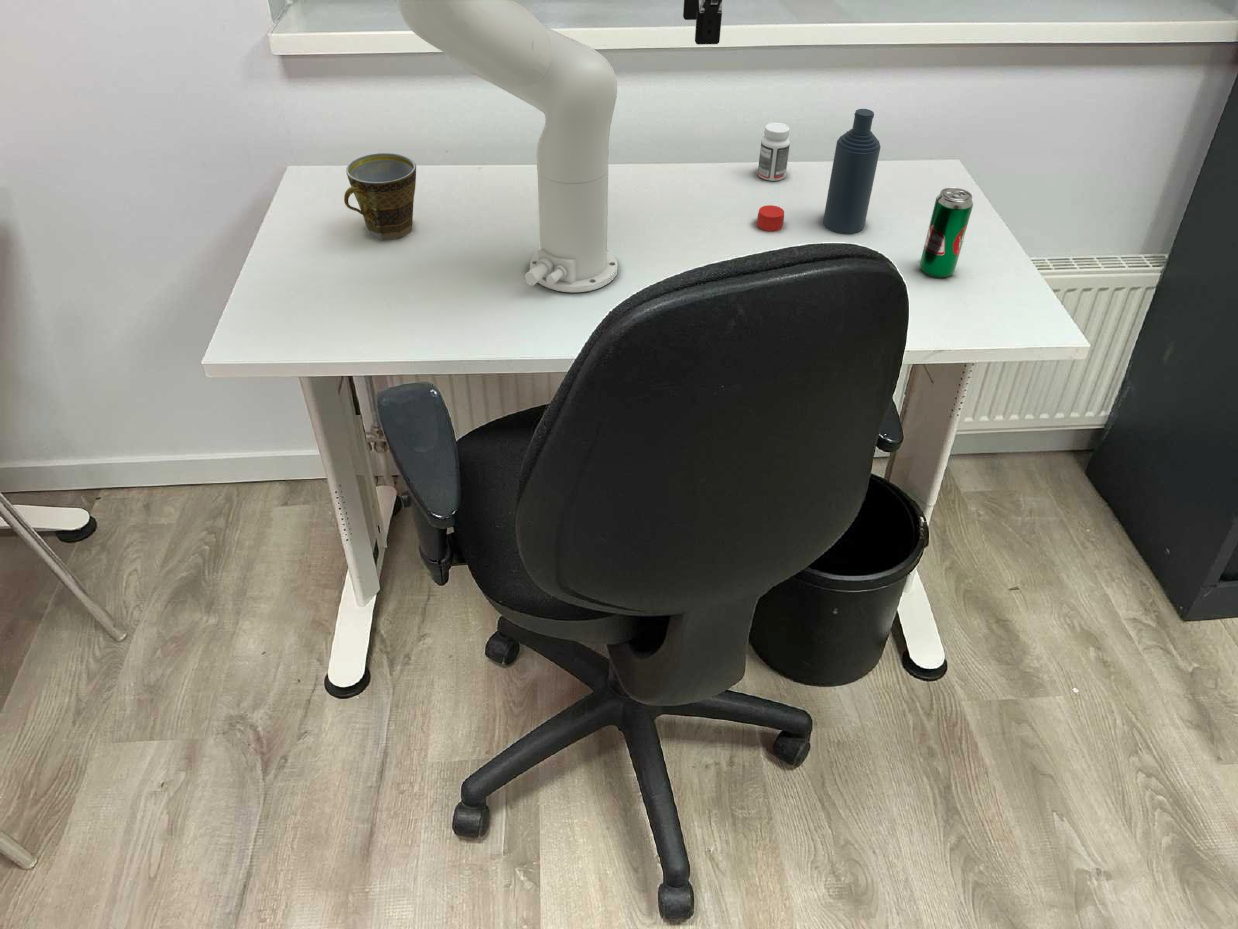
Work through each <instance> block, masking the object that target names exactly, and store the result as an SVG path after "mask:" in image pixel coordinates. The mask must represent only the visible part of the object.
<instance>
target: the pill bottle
mask: <svg viewBox="0 0 1238 929" xmlns="http://www.w3.org/2000/svg"><path fill="white" fill-rule="evenodd" d="M789 136H790V126H789V125H787V124H785V123H783V122H769V123H767V124H765V126H764V131H763V136H762V138H761V141H760V149H759V158H758V168H757V175H758V177H759V178H761V179H763V180H765V181H771V182H776V181H781V180H783V179H784V178H785V177H786V175H787V168H788V161H789V155H790V154H789V153H790V146H791V140H790V138H789Z"/></svg>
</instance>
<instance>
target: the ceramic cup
mask: <svg viewBox="0 0 1238 929" xmlns="http://www.w3.org/2000/svg"><path fill="white" fill-rule="evenodd" d="M345 173H346V176H347V180H348V182H349V184H350V187H348V188H347V189H346V190H345V192H344V196H343V201H344V205H345V206H346V207H347V208H348V209H349V210H352V211H354V212H357V213H359V214H360V215H362V217H363V220H364V224H365V227H366V229H367V234H368V235H369V237H371V238H375V239H377V240H380V241H390V240H398V239H402V238H403V237H405V236H407V235H408V234H410V233H411V232H412V230H413V220H414V219H413V217H414V203H415V202H414V201H415V193H416V183H417V164H416V162H415V161H414V159H412V158H410V157H409V156H406V155H403V154H399V153H393V152H380V153H379V152H378V153H371V154H366V155H363V156H360V157H357V158H356V159H354V160H352V161H351V162H349V163H348V165H347V167H346V169H345ZM352 194H353V195H354V198H355V200H356V202H357V204H358V207H359V208H357V207H354V206H352V205H350V203H349V199H350V197H351V195H352Z"/></svg>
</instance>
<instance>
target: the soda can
mask: <svg viewBox="0 0 1238 929" xmlns="http://www.w3.org/2000/svg"><path fill="white" fill-rule="evenodd" d="M973 207H974V202H973V195H972V193H971V192H969V191H968V190H966V189H963V188H959V187H945V188H943V189H941V190H940V193H939V194H938V195H937V196H936V197H935V200H934V205H933V208H932V213H931V217H930V220H929V225H928V229H927V233H926V238H925V240H924V241H925V242H924V245H923V249H922V253H921V258H920V261H919V267H920V270H921V271H922V272H923V273H924V274H926V275H927V276H929V277H933V278H941V279H942V278H947V277H950V276H951V275H953V274H954V273H955V271H956V268H957V265H958V261H959V257H960V254H961V249H962V247H963V242H964V239H965V236H966V232H967V229H968V225H969V222H970V218H971V214H972V210H973Z"/></svg>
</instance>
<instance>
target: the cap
mask: <svg viewBox="0 0 1238 929" xmlns="http://www.w3.org/2000/svg"><path fill="white" fill-rule="evenodd" d="M756 218H757V219H756V226H757V227H758V228H759V229H761V230H763V231H765V232H777V231H780V230H781V229H782V228H783V226H784V220H785V210H784V209H783V208H782V207H780V206H777V205H773V204H770V205H762V206H761V207H760V208H759V209H758V213H757V217H756Z"/></svg>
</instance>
